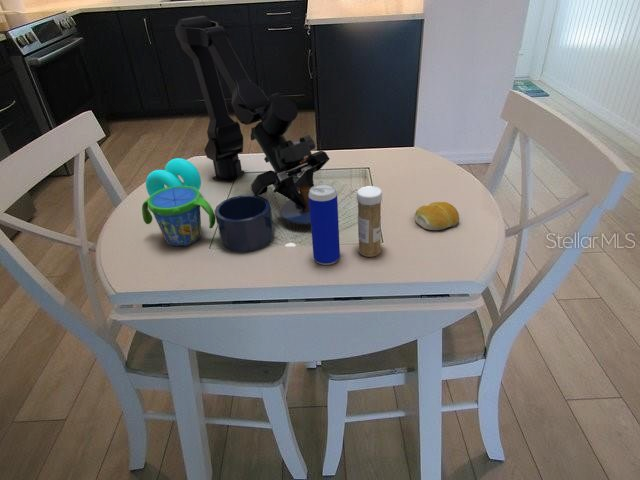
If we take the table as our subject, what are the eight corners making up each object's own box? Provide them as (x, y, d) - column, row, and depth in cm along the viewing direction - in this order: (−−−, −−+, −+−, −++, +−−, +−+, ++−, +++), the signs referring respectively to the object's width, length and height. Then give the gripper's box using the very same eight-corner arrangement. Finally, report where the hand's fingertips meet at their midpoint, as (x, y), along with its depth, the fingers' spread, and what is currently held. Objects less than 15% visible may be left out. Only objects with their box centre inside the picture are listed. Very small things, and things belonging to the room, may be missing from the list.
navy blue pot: (211, 247, 96) (204, 216, 92) (238, 221, 104) (233, 192, 100) (258, 256, 92) (252, 224, 88) (282, 228, 100) (279, 198, 96)
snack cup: (227, 229, 101) (219, 188, 96) (203, 256, 93) (193, 212, 88) (167, 222, 106) (156, 182, 100) (139, 246, 97) (125, 204, 92)
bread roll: (465, 223, 98) (467, 206, 95) (431, 235, 94) (433, 218, 92) (440, 207, 104) (441, 191, 102) (407, 218, 101) (408, 202, 99)
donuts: (149, 208, 112) (138, 170, 107) (174, 190, 120) (165, 154, 114) (183, 213, 109) (173, 175, 103) (206, 195, 116) (199, 158, 111)
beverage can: (343, 253, 91) (340, 184, 83) (335, 267, 87) (331, 197, 79) (318, 249, 93) (313, 182, 84) (310, 264, 89) (303, 194, 80)
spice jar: (384, 255, 89) (385, 194, 82) (361, 259, 89) (361, 197, 81) (376, 243, 93) (377, 183, 86) (355, 247, 93) (353, 187, 85)
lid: (279, 228, 98) (276, 203, 94) (280, 201, 108) (278, 178, 104) (336, 224, 98) (335, 199, 94) (332, 197, 108) (331, 174, 105)
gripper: (250, 138, 90) (291, 206, 89) (321, 114, 100) (358, 175, 99) (235, 165, 99) (271, 226, 98) (301, 140, 109) (335, 196, 108)
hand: (310, 205), depth 101 cm, fingers closed on lid, 3 cm apart
